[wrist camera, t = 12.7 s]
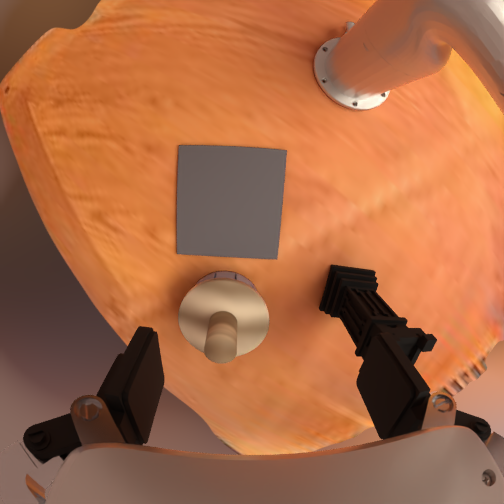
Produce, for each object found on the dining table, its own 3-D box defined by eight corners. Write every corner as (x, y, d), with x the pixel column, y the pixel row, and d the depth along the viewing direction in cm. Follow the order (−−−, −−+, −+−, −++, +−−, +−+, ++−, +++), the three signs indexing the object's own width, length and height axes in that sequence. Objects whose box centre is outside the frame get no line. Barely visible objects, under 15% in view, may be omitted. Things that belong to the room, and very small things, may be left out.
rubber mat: (179, 145, 36) (179, 145, 35) (286, 150, 37) (286, 150, 36) (177, 252, 41) (177, 254, 40) (276, 258, 42) (277, 259, 41)
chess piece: (331, 264, 42) (387, 337, 23) (373, 270, 43) (440, 336, 24) (319, 308, 45) (359, 394, 26) (359, 311, 45) (411, 388, 26)
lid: (177, 275, 37) (163, 302, 29) (272, 279, 37) (279, 308, 30) (182, 349, 41) (173, 382, 33) (264, 353, 41) (268, 388, 34)
